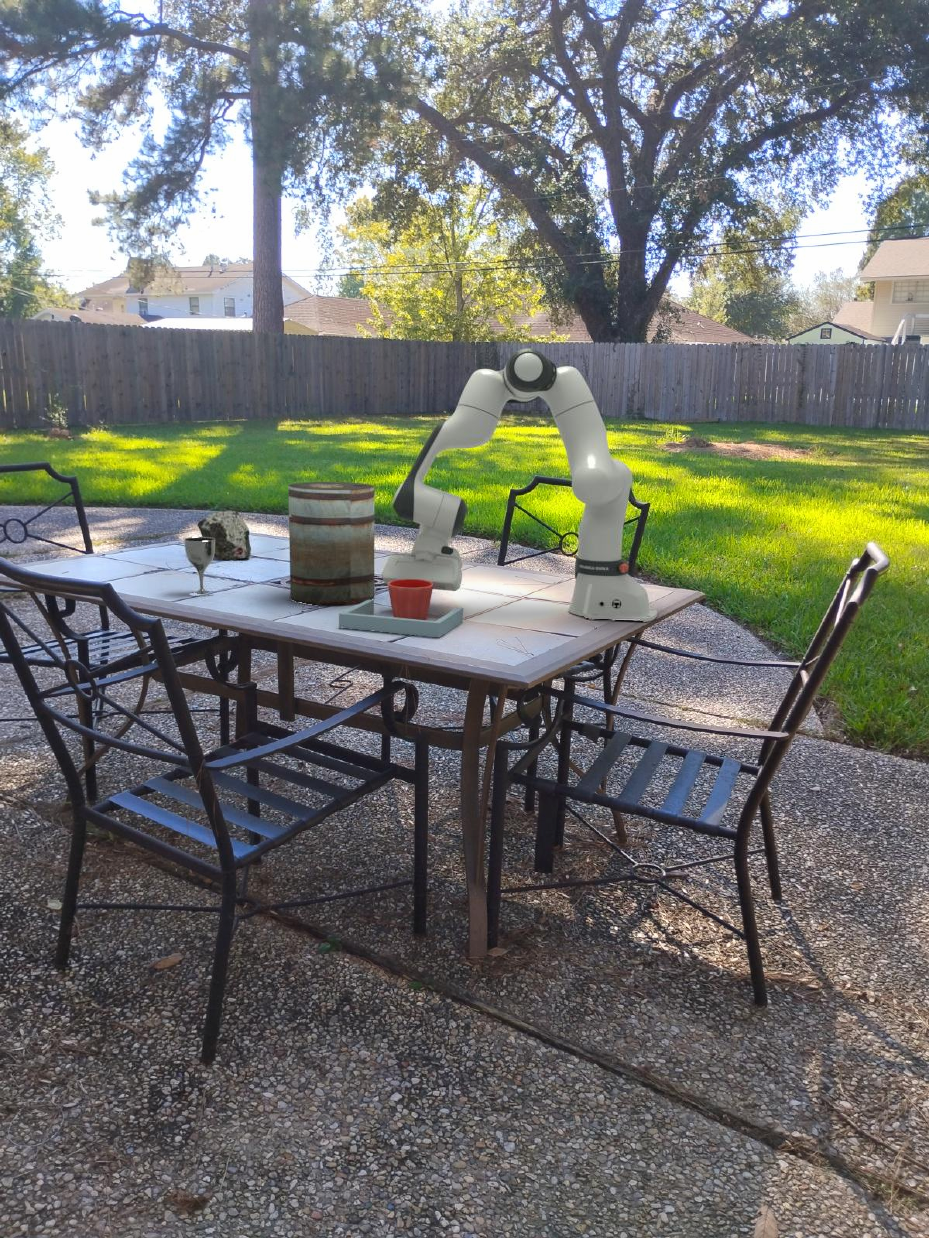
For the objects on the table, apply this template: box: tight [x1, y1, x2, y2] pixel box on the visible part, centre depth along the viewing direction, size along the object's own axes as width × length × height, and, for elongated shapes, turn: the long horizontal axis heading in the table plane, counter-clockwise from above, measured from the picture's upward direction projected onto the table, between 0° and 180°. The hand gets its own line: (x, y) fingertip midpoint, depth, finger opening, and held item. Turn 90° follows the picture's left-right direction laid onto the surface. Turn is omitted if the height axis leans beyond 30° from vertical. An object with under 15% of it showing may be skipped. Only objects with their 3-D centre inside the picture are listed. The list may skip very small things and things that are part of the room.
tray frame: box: [338, 599, 464, 638], centre depth 239 cm, size 25×18×4 cm
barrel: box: [288, 481, 375, 607], centre depth 266 cm, size 22×22×30 cm
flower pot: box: [387, 579, 434, 621], centre depth 242 cm, size 11×11×10 cm
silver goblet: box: [184, 536, 215, 594], centre depth 268 cm, size 8×8×15 cm
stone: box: [197, 510, 252, 562], centre depth 327 cm, size 19×18×15 cm
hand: (414, 600), depth 247 cm, fingers closed
